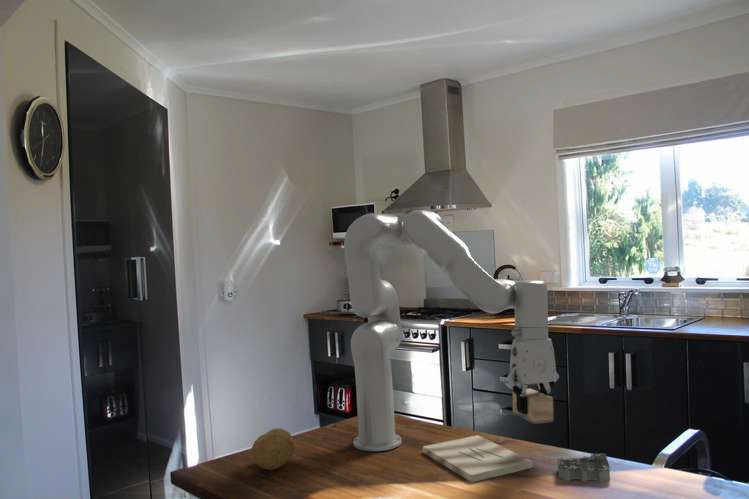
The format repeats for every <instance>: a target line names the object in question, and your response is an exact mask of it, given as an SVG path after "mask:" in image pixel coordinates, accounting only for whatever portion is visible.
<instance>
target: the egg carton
mask: <svg viewBox="0 0 749 499" xmlns="http://www.w3.org/2000/svg"><path fill="white" fill-rule="evenodd" d="M556 460H557V467H558V470H557V471H558V478H559V479H563V480H564V481H572V480H575V479H576V480H580V481H581V482H588V481H590V480H593V481H594V480H595V481H597V482H599V483H606V482H607V481H610V480H611V474H610V471H611V468H610V463H609V462H608V457H607V453H591V454H590V456H585V455H584V456H583V457H570V458H569V457H568V458H563V457H557V458H556Z"/></svg>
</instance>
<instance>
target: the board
mask: <svg viewBox="0 0 749 499" xmlns="http://www.w3.org/2000/svg"><path fill="white" fill-rule="evenodd" d="M422 453H423V454H425V455H427V456H429V457H430V458H432V460H434V461H436V462H438V463H439V464H441V465H442V466H444V467H446V468H448V469H449V470H451V471H453V472H454V473H456V474H457V475H459V476H461V477H462V478H464V479H465V480H467V481H469V482H470V483H475V482H478V481H482V480H483V481H485V480H487V479H491V478H495V477H500V476H504V475H508V474H512V473H516V472H520V471H525V470H529V469H533V468H534V465H533V464H534V463H533V460H531V459H530V458H528V457H527V458H526V457H525V456H523V455H521V454H518V453H516V452H514V451H512V450H510V449H508V448H507V447H503V446H501V445H499V444H498V443H495V442H493V441H490V440H489V439H486V438H485V437H483V436H481V435H478V434H476V435H472V436H471V435H470V436H468V437H467V436H466V437H462V438H456V439H451V440H448V441H447V440H446V441H442V442H441V441H440V442H437V443H433V444H427V445H423V446H422Z"/></svg>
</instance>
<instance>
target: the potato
mask: <svg viewBox="0 0 749 499" xmlns="http://www.w3.org/2000/svg"><path fill="white" fill-rule="evenodd" d="M295 447H296V443H295V442H294V438H293V436H292V434H291V433H290V432H289V431H288V430H286V429H284V428H279V427H278V428H272V429H270V430H269V431H267V432H265V433H264V434H261V435H260V436H258V438H257V439H255V441H254V442H253V444H252V445H251V455H252V457H253V459H254V462H255V464H257V465H258V466H259V467H260V468H261V469H264V470H267V471H268V470H269V471H273V470H276V469H278V468H281V467H282V466H284V465H285V464H286V463H287V462H288V461H289V460H290V459H291V457H292V456H293V455H294V453H295Z"/></svg>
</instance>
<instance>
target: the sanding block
mask: <svg viewBox="0 0 749 499" xmlns="http://www.w3.org/2000/svg"><path fill="white" fill-rule="evenodd" d="M538 391H539V390H535V389H533V388H527V390H526V394H525V396H526V397H527V409H528V413H527V414H523V413H520V412H518V411H517V401H516V395H515V394H514V392H513V391H512V414H513V415H515V416H518V417H519V418H521V419H524V420H525V421H527V422H530V423H531V424H533V425H536V424H537V425H538V424H545V423H546V424H547V423H552V422H554V397H553V396H550V395H549V394H548V395H546V394H543V393H541V392H538Z"/></svg>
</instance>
